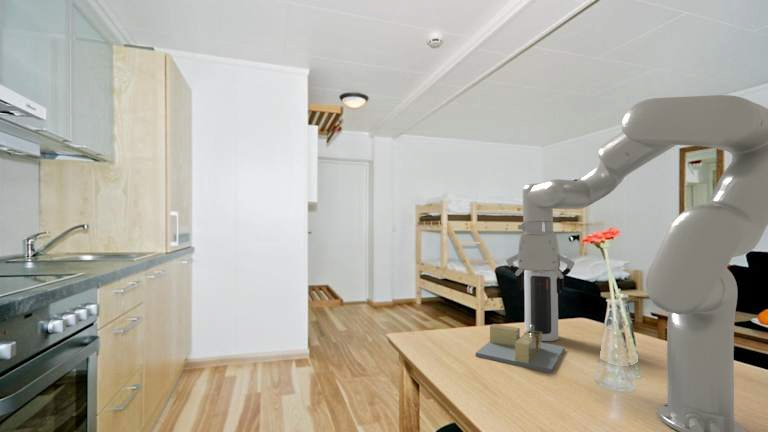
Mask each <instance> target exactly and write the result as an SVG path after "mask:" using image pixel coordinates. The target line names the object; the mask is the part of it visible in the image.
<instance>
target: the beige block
mask: <svg viewBox="0 0 768 432" xmlns="http://www.w3.org/2000/svg"><path fill="white" fill-rule="evenodd" d="M540 342H541V343H542V342H543V341H542V332H539V331H534V334H532V333H530V330H527V331H526V332H525V331H524V334H522V335H520V338H519V339H518V340H517V341H516V342H515V361H518V362H522V363H527V364H529V363H530V362H531V360H532V359H533V358H534V357H535V356H536V344H539V343H540Z"/></svg>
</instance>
